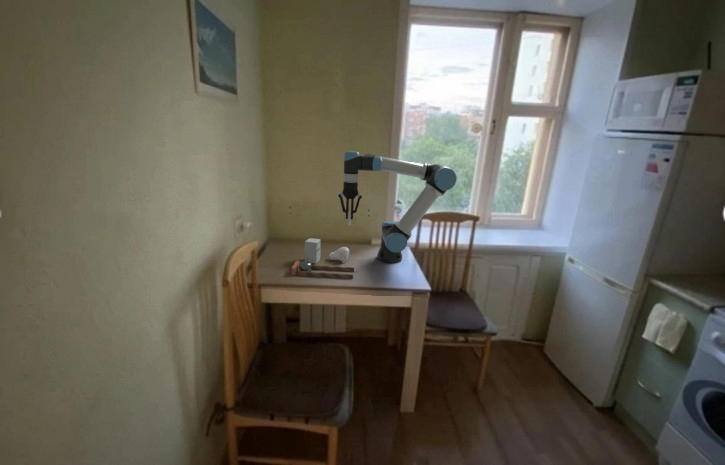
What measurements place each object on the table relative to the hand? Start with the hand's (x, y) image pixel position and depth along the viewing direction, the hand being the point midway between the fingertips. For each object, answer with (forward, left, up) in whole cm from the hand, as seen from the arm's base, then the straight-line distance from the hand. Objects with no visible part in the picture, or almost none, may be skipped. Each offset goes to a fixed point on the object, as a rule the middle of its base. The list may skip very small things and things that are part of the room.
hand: (349, 224), depth 184 cm
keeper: (+22, +11, -25) cm, 35 cm away
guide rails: (+11, +11, -24) cm, 29 cm away
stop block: (+27, +11, -24) cm, 38 cm away
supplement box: (+21, -5, -25) cm, 33 cm away
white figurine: (+6, -8, -25) cm, 27 cm away
